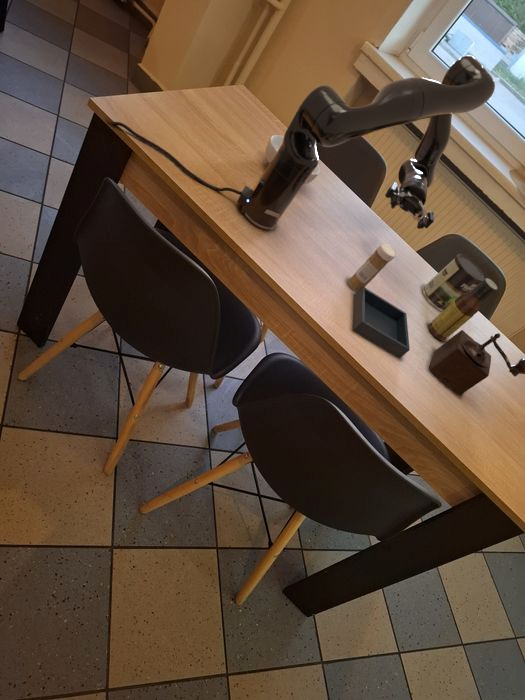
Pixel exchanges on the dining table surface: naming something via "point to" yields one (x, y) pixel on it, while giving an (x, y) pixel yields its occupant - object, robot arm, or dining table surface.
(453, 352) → the manual coffee grinder
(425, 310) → the dining table surface
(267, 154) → the cereal bowl
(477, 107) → the robot arm
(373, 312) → the tray
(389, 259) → the sprinkles bottle
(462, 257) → the coffee can
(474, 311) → the sauce bottle
